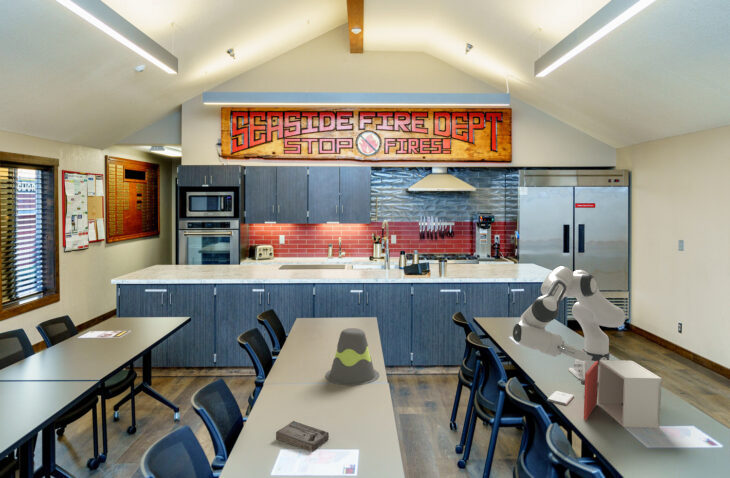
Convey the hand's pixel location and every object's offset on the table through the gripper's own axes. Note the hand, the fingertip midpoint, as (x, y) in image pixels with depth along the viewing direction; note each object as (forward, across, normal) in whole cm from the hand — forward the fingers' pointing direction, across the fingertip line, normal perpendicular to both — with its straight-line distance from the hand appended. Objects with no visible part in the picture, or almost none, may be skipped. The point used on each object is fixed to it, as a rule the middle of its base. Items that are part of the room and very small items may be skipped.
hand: (584, 355), depth 190 cm
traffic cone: (-80, +59, +52) cm, 112 cm away
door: (+16, +12, +22) cm, 30 cm away
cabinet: (+29, +7, +18) cm, 35 cm away
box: (-97, -8, +64) cm, 117 cm away
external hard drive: (+10, +26, +24) cm, 37 cm away
